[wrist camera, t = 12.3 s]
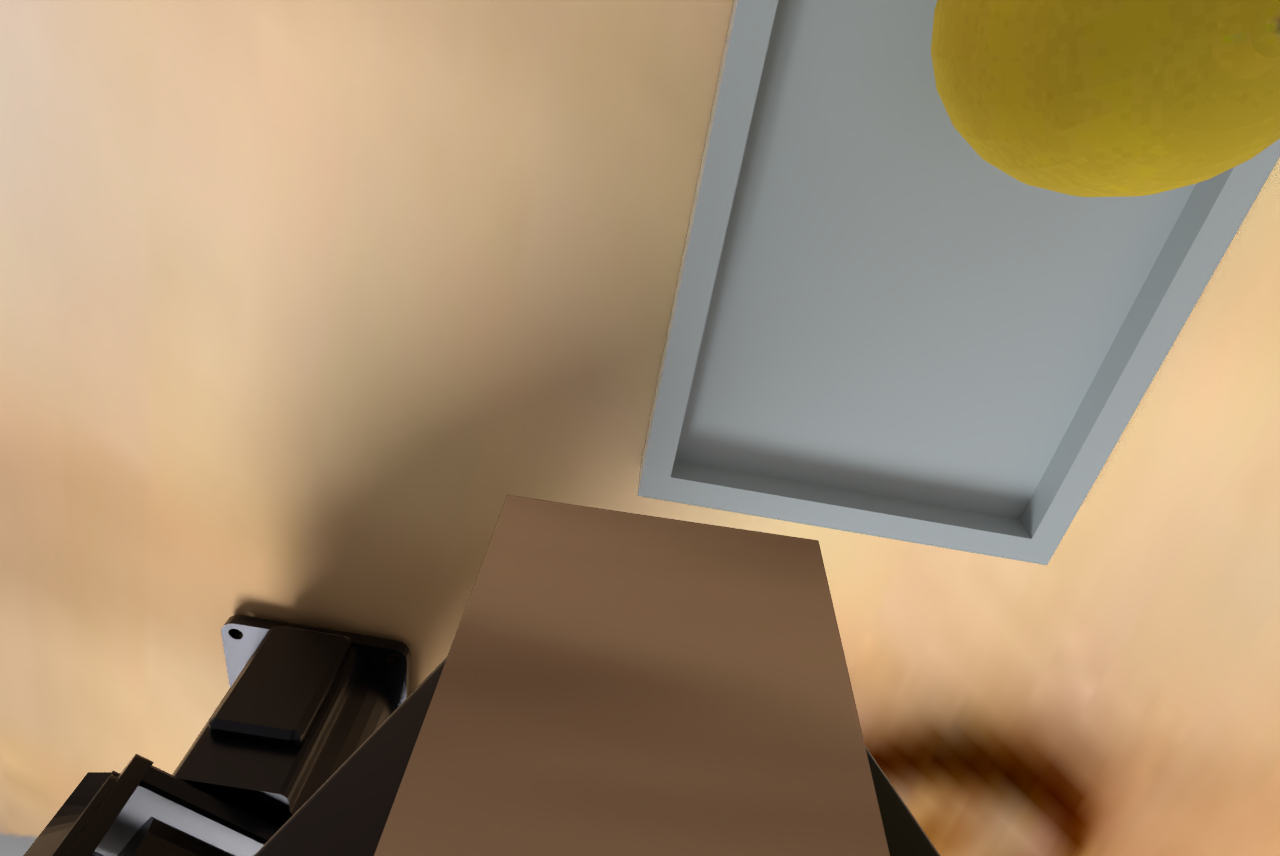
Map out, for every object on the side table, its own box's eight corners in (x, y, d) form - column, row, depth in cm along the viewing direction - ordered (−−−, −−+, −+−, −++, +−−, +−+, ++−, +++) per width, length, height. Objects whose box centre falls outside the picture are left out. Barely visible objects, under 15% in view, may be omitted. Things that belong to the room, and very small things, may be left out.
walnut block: (752, 741, 12) (788, 1185, 7) (495, 704, 12) (378, 1131, 7) (818, 540, 10) (919, 991, 5) (507, 495, 10) (352, 913, 5)
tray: (1026, 533, 23) (1046, 565, 22) (640, 467, 23) (637, 495, 21) (1431, -221, 14) (1507, -244, 13) (804, -354, 14) (816, -392, 12)
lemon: (1161, 109, 16) (1504, 192, 10) (903, 179, 17) (1044, 299, 11) (1175, -200, 14) (1658, -394, 7) (871, -97, 15) (1028, -177, 8)
